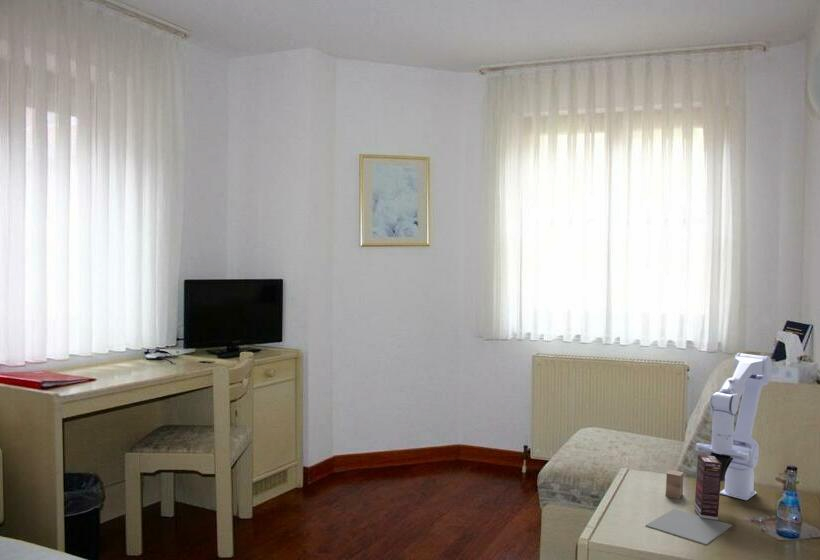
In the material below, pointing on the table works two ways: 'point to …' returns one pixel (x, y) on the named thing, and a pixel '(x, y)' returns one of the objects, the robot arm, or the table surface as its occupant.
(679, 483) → the walnut block
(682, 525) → the mat
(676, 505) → the table surface
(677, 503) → the table surface
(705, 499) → the supplement box
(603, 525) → the table surface
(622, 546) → the table surface
